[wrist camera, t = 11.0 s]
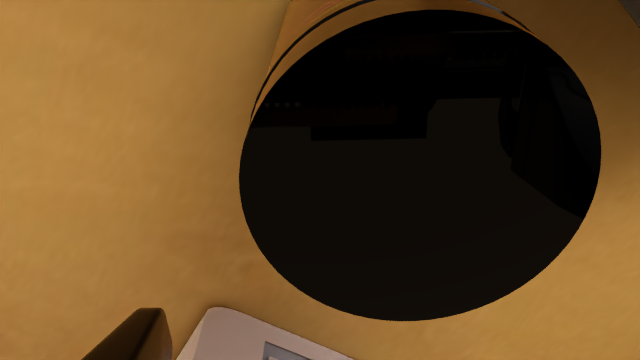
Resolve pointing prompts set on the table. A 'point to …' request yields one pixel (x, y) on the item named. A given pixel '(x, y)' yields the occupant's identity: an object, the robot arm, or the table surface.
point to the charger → (248, 340)
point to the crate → (632, 9)
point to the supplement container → (415, 156)
